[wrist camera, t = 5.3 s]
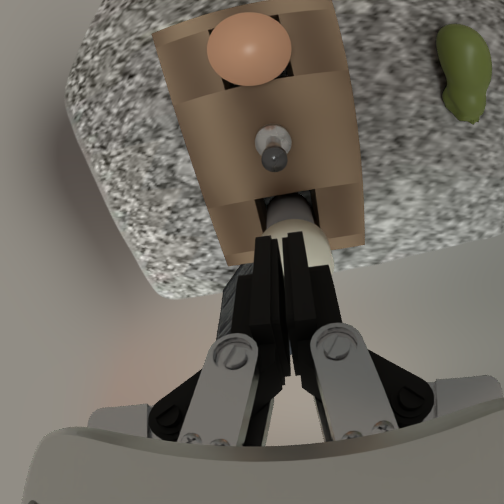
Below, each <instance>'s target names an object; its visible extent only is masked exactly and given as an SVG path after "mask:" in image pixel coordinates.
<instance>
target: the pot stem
mask: <svg viewBox="0 0 504 504" xmlns="http://www.w3.org/2000/svg"><path fill="white" fill-rule="evenodd" d="M291 144H292V142H291V137H290V134H289V132H288V131H287V130H286V129H285V128H284V127H283V126H281V125H279V124H267V125H265V126H263V127H261V128H260V129H259V131H258V132H257V134H256V138H255V147H256V149H257V151H258V153H259V154H260V155H261V156H262V157H261V162H262V165H263V167H264V168H265V169H266V170H268V171H270V172H279V171H281V170H283V169H284V168H285V167H286V165H287V162H288V159H287V154H288V152H289V151H290V149H291Z"/></svg>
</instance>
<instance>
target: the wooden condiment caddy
mask: <svg viewBox="0 0 504 504" xmlns="http://www.w3.org/2000/svg"><path fill="white" fill-rule="evenodd" d="M244 12H255V13H261V14H264V15H267V16H269V17H271V18H273V19H275V20H276V21H277V22H279V23H280V24H281V25H282V26H283V27H284V29H285V30H286V31H287V33H288V35H289V38H290V41H291V50H292V51H291V57H290V60H289V62H288V65H287V66H286V70H287V74H288V75H287V76H281V77H276V78H274V79H273V80H271V81H269V82H267V83H264V84H261V85H255V86H242V85H237V86H235V85H234V83H231V82H229V81H227V80H225V79H223V78H222V77H221V76H219V75H218V74H217V73H216V72H215V70H214V69H213V68H212V66H211V64H210V62H209V59H208V55H207V44H208V39H209V37H210V35H211V33H212V31H213V30H214V28H215V27H216V26H217V25H218V24H219V23H220V22H222V21H223V20H224V19H226V18H228V17H230V16H232V15H235V14H238V13H244ZM152 37H153V40H154V44H155V47H156V50H157V54H158V57H159V61H160V64H161V67H162V71H163V74H164V77H165V80H166V84H167V87H168V90H169V93H170V97H171V100H172V103H173V106H174V109H175V113H176V116H177V119H178V122H179V125H180V128H181V131H182V134H183V137H184V140H185V144H186V147H187V150H188V153H189V156H190V159H191V162H192V165H193V168H194V171H195V174H196V177H197V180H198V182H199V185H200V188H201V191H202V194H203V197H204V200H205V203H206V206H207V209H208V212H209V214H210V217H211V220H212V223H213V226H214V229H215V231H216V234H217V237H218V240H219V243H220V245H221V248H222V251H223V254H224V257H225V259H226V262H227V265H228V266H234V265H240V264H247V263H253V262H254V250H255V238H256V237H261V236H262V234H263V233H264V232H265V231H266V228H267V211H266V206H265V202H264V198H265V197H270V196H276V195H282V194H288V193H293V192H299V191H305V190H310V193H311V199H312V206H311V207H310V209H311V212H312V216H313V220H314V224H315V225H317V226H318V227H319V228H320V229H321V230H322V231H323V232H324V233H325V235H326V237H327V239H328V242H329V246H330V249H331V250H336V249H342V248H348V247H354V246H360V245H365V226H364V197H363V180H362V166H361V155H360V145H359V135H358V127H357V119H356V112H355V105H354V98H353V92H352V86H351V81H350V75H349V70H348V65H347V60H346V55H345V50H344V46H343V41H342V37H341V33H340V29H339V25H338V21H337V17H336V14H335V10H334V7H333V3H332V0H267V1H261V2H256V3H251V4H246V5H241V6H237V7H232V8H228V9H224V10H220V11H217V12H213V13H209V14H206V15H203V16H199V17H196V18H193V19H190V20H187V21H184V22H181V23H178V24H176V25H173V26H170V27H168V28H165V29H162V30H160V31H157V32H155V33H153V34H152ZM267 124H279V125H281V126H283V127H284V128H285V129H286V130H287V131H288V132H289V134H290V137H291V142H292V144H291V149H290V151H289V152H288V154H287V159H288V162H287V165H286V167H285V168H284V169H283V170H281V171H279V172H270V171H268V170H266V169H265V168H264V167H263V165H262V162H261V157H262V156H261V155H260V154H259V153H258V151H257V149H256V147H255V138H256V134H257V132H258V131H259V129H260V128H261V127H263V126H265V125H267Z"/></svg>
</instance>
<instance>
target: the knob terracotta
mask: <svg viewBox="0 0 504 504" xmlns="http://www.w3.org/2000/svg"><path fill="white" fill-rule="evenodd" d="M291 51H292V50H291V41H290V38H289V35H288V33H287V31H286V30H285V29H284V27H283V26H282V25H281V24H280V23H279V22H277V21H276V20H275V19H273V18H271V17H269V16H267V15H264V14H261V13H255V12H244V13H238V14H235V15H232V16H230V17H228V18H226V19H224V20H223V21H222V22H220V23H219V24H218V25H217V26H216V27H215V28H214V30H213V31H212V33H211V35H210V37H209V39H208V44H207V55H208V59H209V62H210V64H211V66H212V68H213V69H214V70H215V72H216V73H217V74H218V75H219V76H221V77H222V78H223V79H225V80H227V81H229V82H231V83H234V84H237V85H242V86H255V85H261V84H264V83H267V82H269V81H271V80H273V79H274V78H276V77H277V76H279V75H280V74H281V73H282V72H283V70H284V69H285V68H286V66H287V65H288V62H289V60H290V57H291Z"/></svg>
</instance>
